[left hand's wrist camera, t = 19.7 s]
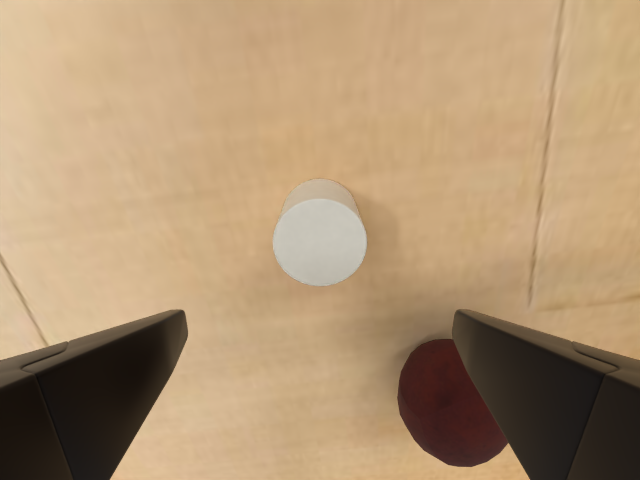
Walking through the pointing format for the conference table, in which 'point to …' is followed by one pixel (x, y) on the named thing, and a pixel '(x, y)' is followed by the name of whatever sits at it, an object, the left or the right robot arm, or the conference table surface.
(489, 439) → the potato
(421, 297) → the conference table surface
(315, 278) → the can
